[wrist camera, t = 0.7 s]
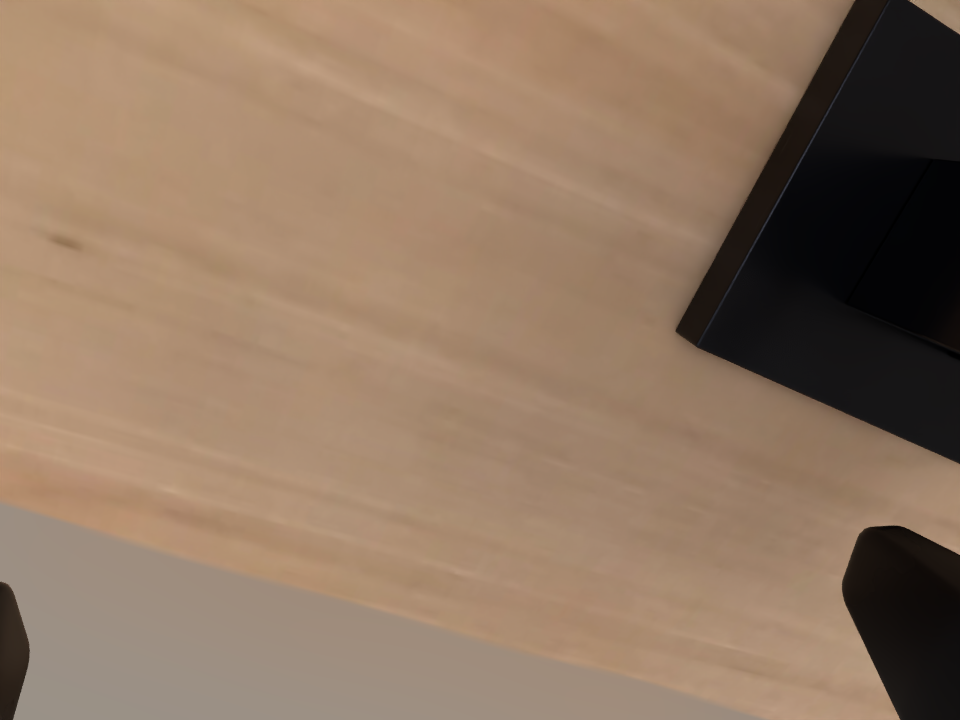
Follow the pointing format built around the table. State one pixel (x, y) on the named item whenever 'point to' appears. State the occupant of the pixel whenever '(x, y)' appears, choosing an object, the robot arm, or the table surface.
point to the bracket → (856, 236)
